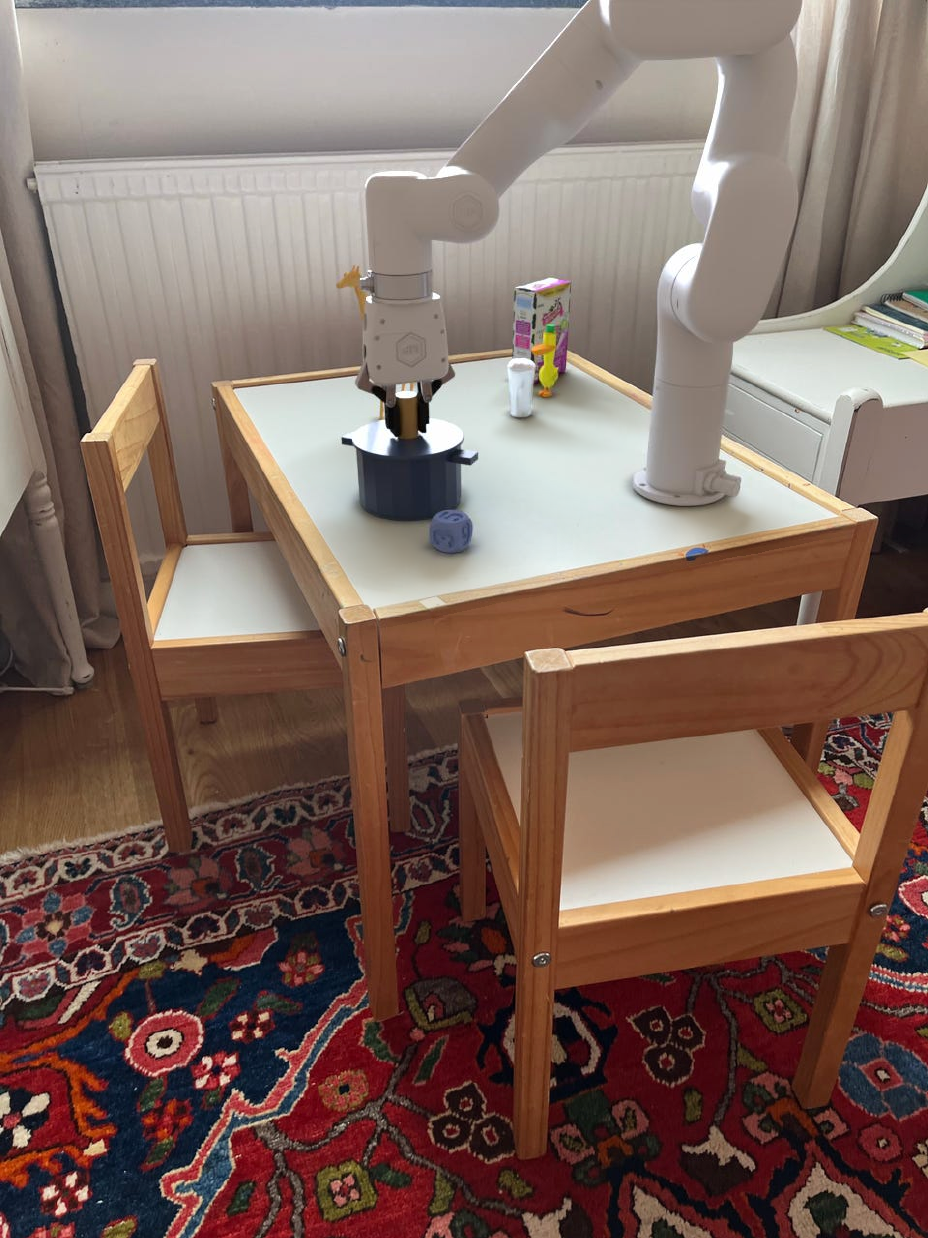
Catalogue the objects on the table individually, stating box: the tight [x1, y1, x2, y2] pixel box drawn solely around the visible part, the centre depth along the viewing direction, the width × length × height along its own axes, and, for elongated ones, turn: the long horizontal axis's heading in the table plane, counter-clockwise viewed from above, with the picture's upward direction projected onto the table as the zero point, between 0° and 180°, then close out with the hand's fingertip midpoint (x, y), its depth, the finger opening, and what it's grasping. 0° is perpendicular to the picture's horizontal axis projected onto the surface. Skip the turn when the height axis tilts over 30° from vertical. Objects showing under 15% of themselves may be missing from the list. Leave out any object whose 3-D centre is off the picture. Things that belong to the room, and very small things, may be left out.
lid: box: [352, 390, 465, 460], centre depth 125 cm, size 15×15×7 cm
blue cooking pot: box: [340, 431, 479, 522], centre depth 128 cm, size 14×19×8 cm
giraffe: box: [335, 264, 416, 421], centre depth 151 cm, size 16×4×25 cm, turn 141°
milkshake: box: [506, 355, 541, 418], centre depth 157 cm, size 5×5×10 cm
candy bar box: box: [511, 277, 572, 385], centre depth 173 cm, size 11×5×16 cm, turn 141°
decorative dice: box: [428, 509, 474, 554], centre depth 117 cm, size 4×4×4 cm
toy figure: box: [531, 324, 559, 398], centre depth 165 cm, size 7×4×12 cm, turn 133°
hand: (407, 430), depth 125 cm, fingers closed on lid, 2 cm apart
